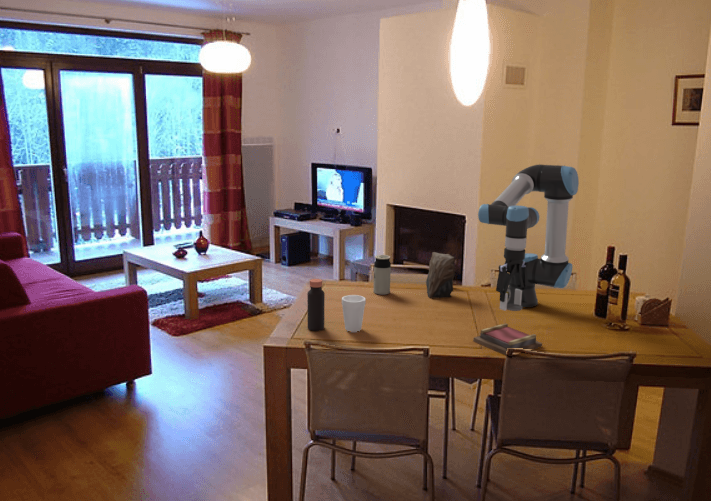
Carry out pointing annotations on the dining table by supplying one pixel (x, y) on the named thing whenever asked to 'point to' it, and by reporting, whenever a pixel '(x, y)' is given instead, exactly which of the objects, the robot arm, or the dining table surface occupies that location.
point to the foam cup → (353, 312)
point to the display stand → (506, 339)
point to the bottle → (315, 305)
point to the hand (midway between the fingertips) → (510, 307)
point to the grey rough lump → (440, 275)
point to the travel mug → (382, 274)
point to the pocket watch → (512, 306)
